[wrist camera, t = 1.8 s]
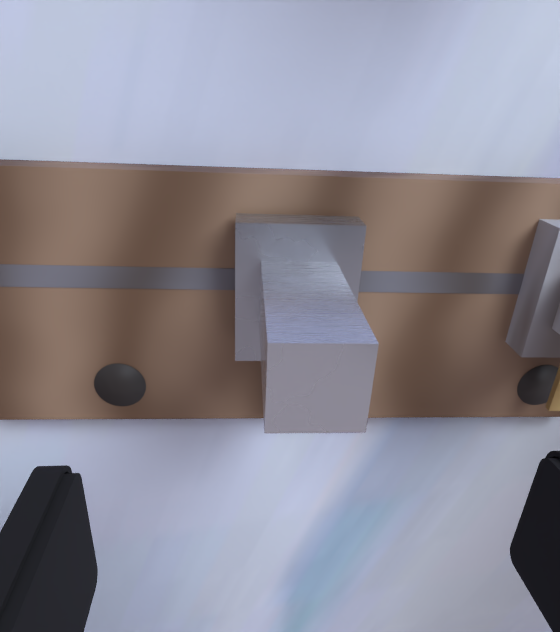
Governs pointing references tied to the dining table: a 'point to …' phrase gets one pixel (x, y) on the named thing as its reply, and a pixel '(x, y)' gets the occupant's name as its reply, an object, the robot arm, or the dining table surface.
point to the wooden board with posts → (219, 288)
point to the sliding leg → (305, 320)
